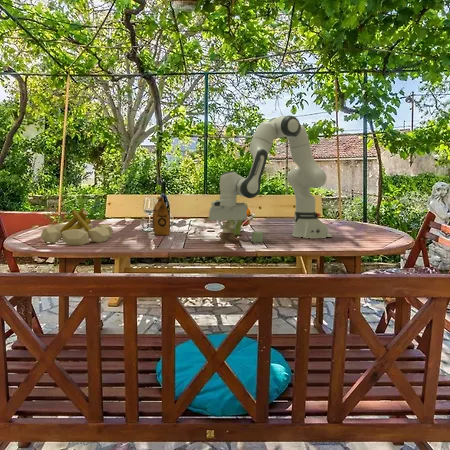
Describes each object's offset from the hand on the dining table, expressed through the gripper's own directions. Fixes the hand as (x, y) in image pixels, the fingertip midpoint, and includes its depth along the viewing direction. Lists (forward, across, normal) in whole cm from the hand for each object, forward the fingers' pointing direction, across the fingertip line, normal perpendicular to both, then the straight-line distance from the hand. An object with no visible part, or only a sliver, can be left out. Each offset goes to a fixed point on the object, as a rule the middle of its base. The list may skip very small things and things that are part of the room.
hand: (227, 228), depth 216 cm
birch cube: (+2, 0, 0) cm, 2 cm away
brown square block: (+7, 0, 0) cm, 7 cm away
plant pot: (+7, -6, -22) cm, 24 cm away
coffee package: (+7, +37, -26) cm, 46 cm away
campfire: (+7, +79, -5) cm, 79 cm away
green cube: (+7, -16, 0) cm, 17 cm away
